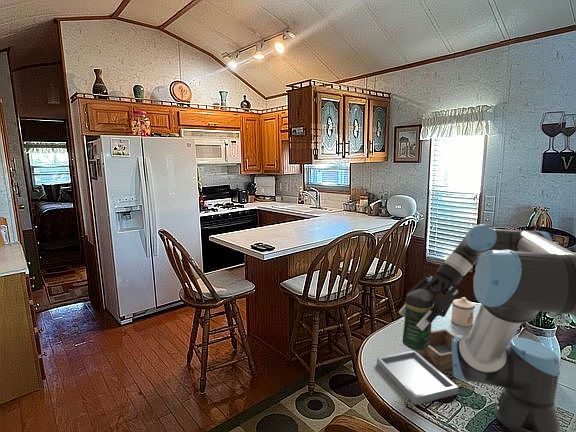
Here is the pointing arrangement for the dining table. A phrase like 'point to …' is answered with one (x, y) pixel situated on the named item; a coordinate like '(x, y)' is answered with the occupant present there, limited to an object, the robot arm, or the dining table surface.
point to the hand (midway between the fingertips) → (409, 321)
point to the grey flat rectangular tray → (416, 377)
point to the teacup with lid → (462, 312)
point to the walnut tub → (434, 356)
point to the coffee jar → (417, 319)
